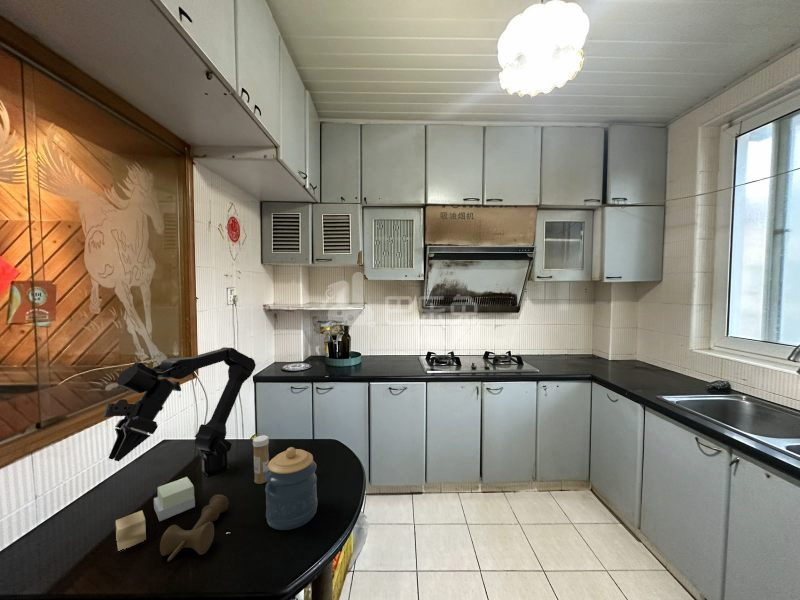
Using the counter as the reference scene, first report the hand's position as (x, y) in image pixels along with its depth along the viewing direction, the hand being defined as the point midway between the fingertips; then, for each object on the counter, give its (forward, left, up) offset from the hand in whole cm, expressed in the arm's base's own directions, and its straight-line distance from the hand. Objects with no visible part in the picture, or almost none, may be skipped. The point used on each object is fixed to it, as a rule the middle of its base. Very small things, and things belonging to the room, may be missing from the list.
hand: (113, 459), depth 82 cm
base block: (-12, +2, -18) cm, 21 cm away
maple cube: (-2, +9, -17) cm, 20 cm away
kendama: (-13, +20, -18) cm, 30 cm away
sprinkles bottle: (-34, +7, -17) cm, 39 cm away
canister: (-33, +29, -17) cm, 47 cm away
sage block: (-13, +2, -15) cm, 19 cm away
